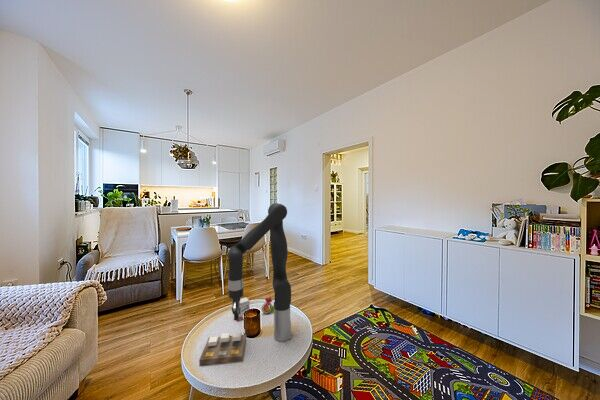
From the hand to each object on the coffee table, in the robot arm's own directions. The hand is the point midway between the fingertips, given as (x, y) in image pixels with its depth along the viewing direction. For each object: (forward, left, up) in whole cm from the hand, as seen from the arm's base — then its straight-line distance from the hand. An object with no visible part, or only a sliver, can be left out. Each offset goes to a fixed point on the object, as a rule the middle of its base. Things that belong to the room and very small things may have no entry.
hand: (236, 319), depth 118 cm
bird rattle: (-16, -31, -16) cm, 38 cm away
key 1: (+12, 0, -12) cm, 17 cm away
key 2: (0, 0, -10) cm, 10 cm away
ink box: (+1, -28, -16) cm, 32 cm away
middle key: (+6, 0, -10) cm, 12 cm away
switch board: (+6, +2, -16) cm, 17 cm away
